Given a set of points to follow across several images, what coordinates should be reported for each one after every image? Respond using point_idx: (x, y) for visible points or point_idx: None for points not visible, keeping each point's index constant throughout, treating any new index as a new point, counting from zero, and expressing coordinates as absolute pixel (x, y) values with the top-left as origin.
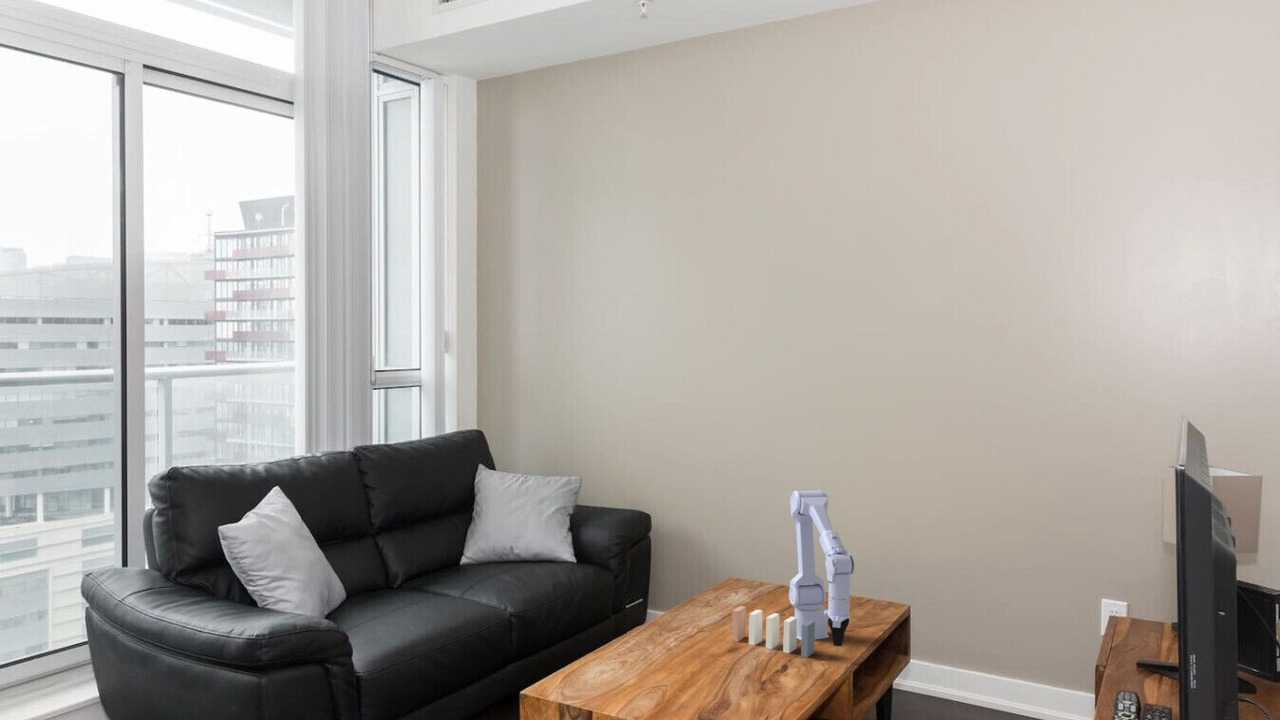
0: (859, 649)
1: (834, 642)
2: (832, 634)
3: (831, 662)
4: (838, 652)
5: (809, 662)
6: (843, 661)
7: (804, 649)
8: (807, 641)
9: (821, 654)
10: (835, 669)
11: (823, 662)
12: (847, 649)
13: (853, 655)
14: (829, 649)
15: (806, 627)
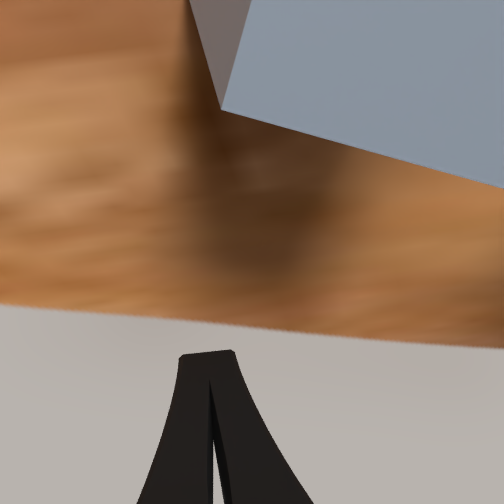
0: (466, 334)
1: (177, 389)
2: (143, 489)
3: (168, 230)
4: (406, 242)
5: (62, 31)
6: (226, 296)
7: None
8: (194, 11)
9: None
10: (22, 277)
11: (137, 171)
12: (467, 281)
13: (358, 325)
14: None
15: (227, 29)
